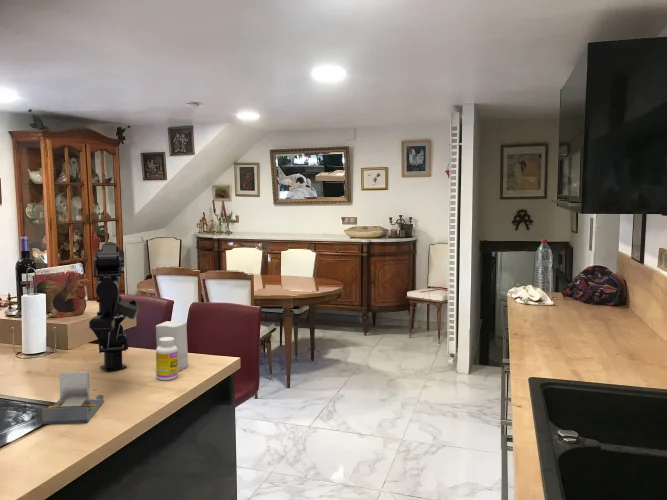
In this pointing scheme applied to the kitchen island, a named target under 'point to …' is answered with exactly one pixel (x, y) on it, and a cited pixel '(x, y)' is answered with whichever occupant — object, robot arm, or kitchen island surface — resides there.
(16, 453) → the kitchen island surface
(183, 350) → the skincare box
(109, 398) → the kitchen island surface
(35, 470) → the kitchen island surface
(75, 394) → the block
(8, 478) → the kitchen island surface
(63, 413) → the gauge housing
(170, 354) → the supplement bottle
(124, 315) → the robot arm
